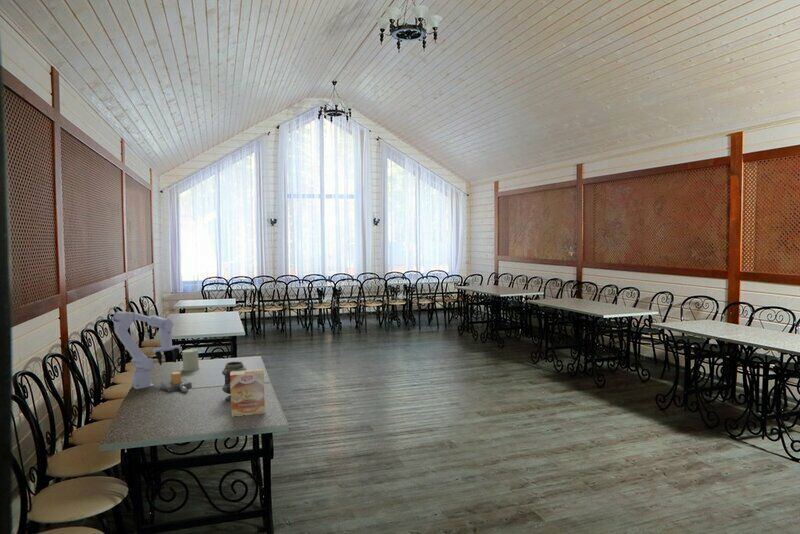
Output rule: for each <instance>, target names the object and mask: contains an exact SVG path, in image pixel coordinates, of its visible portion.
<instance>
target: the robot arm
mask: <svg viewBox="0 0 800 534" xmlns="http://www.w3.org/2000/svg"><path fill="white" fill-rule="evenodd" d="M111 321H112V322H113V329H114V333H115V334H116V335H115V336H117V338H118V339H119V341H120V342H121V343H122V344H123V346H124V348H125V349H126V350H127V352H128V353H129V355H130V356H131V357H132V358H131V361H132V362H133V367H134V368H135V371H133V372H131V387H132V386H133V387H132V388H133V389H135V390H140V389H145V388H149V387H154V386H155V385H154V383H152V369H153V367H154V361H153V360H152V358H149V357H148V356H147V355H146V354H145V353H143V352H142V350H141V348H140V347H139V345H138V344H137V343H136V341H135V340H134V338H133V337H132V335H131V334H130V332H129V331H128V330H129V328H130V327H131V325H132V323H134V322H136V321H140V322H143V323H144V322H145V323H147V325H148V326H149V327H150V326H151V327H155V328H159V330H160V333H159V334H160V347H157V348H153V349H152V353H153V354H155V356H156V359H157V361H158V364H159V366H162V365H163V362H162V355H163V354H162V352H168V351H172V361H173V363H177V357H178V354H179V352H180V350H181V345H180V344H177V345H173V338H172V337H173V336H172V334H173V333H172V329H173V327H174V323H173V321H172V320H171V319H170V318H165V317H164V316H158V315H157V314H152V315H150V316H148V315H144V314H142V313H138V312H134V311H133V312H132V311H121V310H118V311H116V312H114V314H113V317H112V319H111Z"/></svg>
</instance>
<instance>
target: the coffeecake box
mask: <svg viewBox="0 0 800 534" xmlns="http://www.w3.org/2000/svg"><path fill="white" fill-rule="evenodd" d="M264 378H265V374H264V369H263V368H259V369H258V368H257V369H247V370H244V371H232V372H230V389H231V394H230V395H231V401H230V410H231V412H230V413H231V417H232V418H235V417H234V416H237V417H243V415H245V416H253V414H254V415H261V414H263V415H265V414H266V404H265V401H266V400H265V381H264V380H265V379H264Z"/></svg>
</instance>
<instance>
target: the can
mask: <svg viewBox="0 0 800 534" xmlns="http://www.w3.org/2000/svg"><path fill="white" fill-rule="evenodd" d="M181 355H182V371H183V370H184V372H193V371H197V370H199V369H200V366H199V349H197V348H189V349H184V350H182V351H181Z"/></svg>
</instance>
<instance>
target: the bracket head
mask: <svg viewBox="0 0 800 534" xmlns="http://www.w3.org/2000/svg"><path fill="white" fill-rule="evenodd" d="M160 384H161V385H160V386H161V388H162V389H163V388H164V390H165V391H166V390H167V391H166V392H167V393H171V392H170V391H172V392H175V390H177V391H181V392H182V393H184V394H187V393H188V392H189V389H190V387H191V388H192V387H193V385H192V382H191V381H189V380H187V379H185V378H181V383H180V384H175V385H172V384H171V380H169V381H163V382H160Z"/></svg>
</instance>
